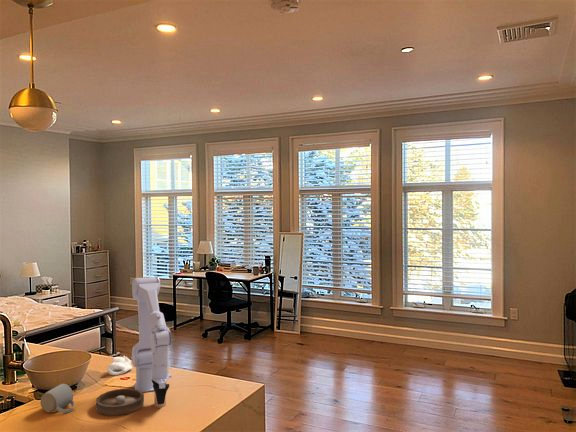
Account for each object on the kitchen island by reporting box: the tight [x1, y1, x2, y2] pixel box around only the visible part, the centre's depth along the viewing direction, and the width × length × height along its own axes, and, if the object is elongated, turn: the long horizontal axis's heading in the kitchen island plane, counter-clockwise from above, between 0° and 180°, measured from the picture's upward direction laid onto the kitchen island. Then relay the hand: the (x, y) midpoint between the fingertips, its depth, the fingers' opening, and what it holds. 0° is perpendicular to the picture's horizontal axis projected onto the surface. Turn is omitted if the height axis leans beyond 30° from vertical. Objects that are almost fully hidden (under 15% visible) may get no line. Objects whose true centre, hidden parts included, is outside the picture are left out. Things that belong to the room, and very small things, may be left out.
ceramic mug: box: [40, 383, 76, 414], centre depth 156 cm, size 11×8×8 cm
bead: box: [153, 392, 167, 408], centre depth 161 cm, size 4×4×5 cm
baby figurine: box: [106, 355, 133, 376], centre depth 195 cm, size 9×12×8 cm
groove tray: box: [95, 388, 145, 417], centre depth 160 cm, size 16×16×3 cm
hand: (160, 401), depth 161 cm, fingers closed on bead, 4 cm apart
